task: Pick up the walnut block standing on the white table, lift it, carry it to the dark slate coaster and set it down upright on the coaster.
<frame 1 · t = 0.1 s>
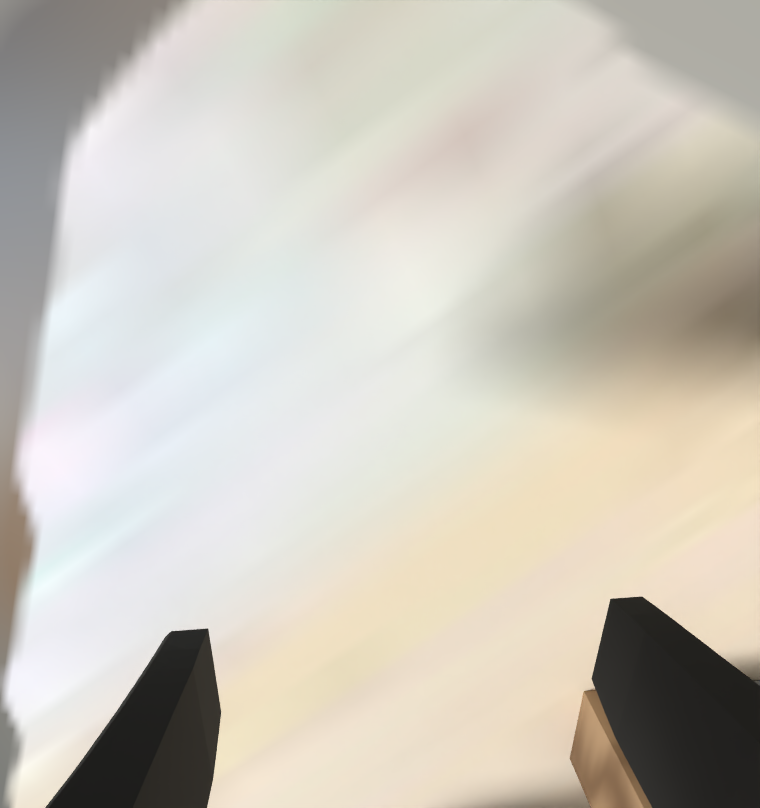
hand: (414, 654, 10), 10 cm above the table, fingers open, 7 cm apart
walnut block: (623, 719, 27), on the table
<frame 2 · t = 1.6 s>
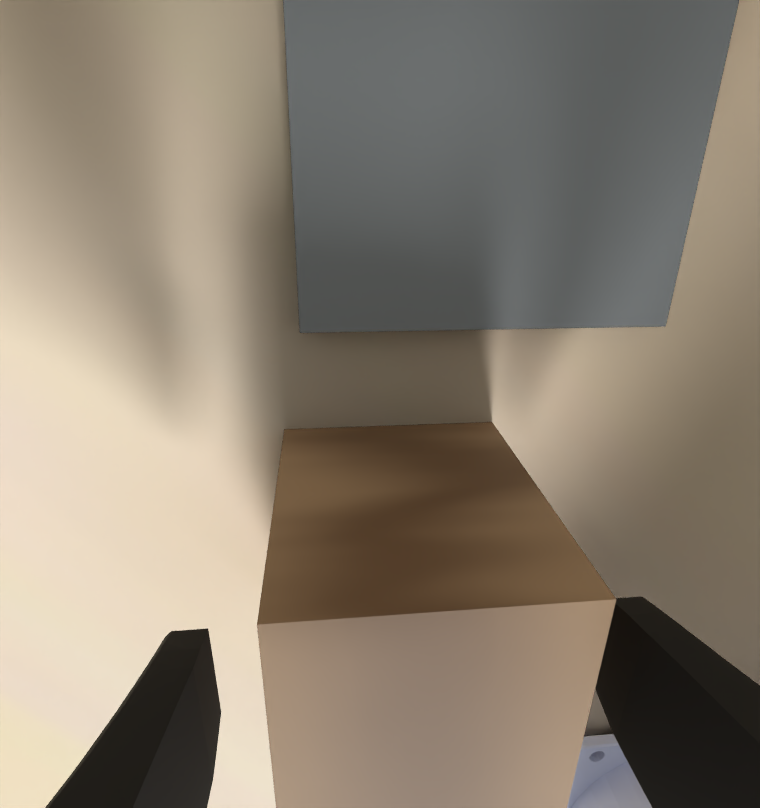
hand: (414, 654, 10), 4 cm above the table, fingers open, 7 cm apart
walnut block: (388, 512, 14), on the table
slate coaster: (498, 120, 10), on the table
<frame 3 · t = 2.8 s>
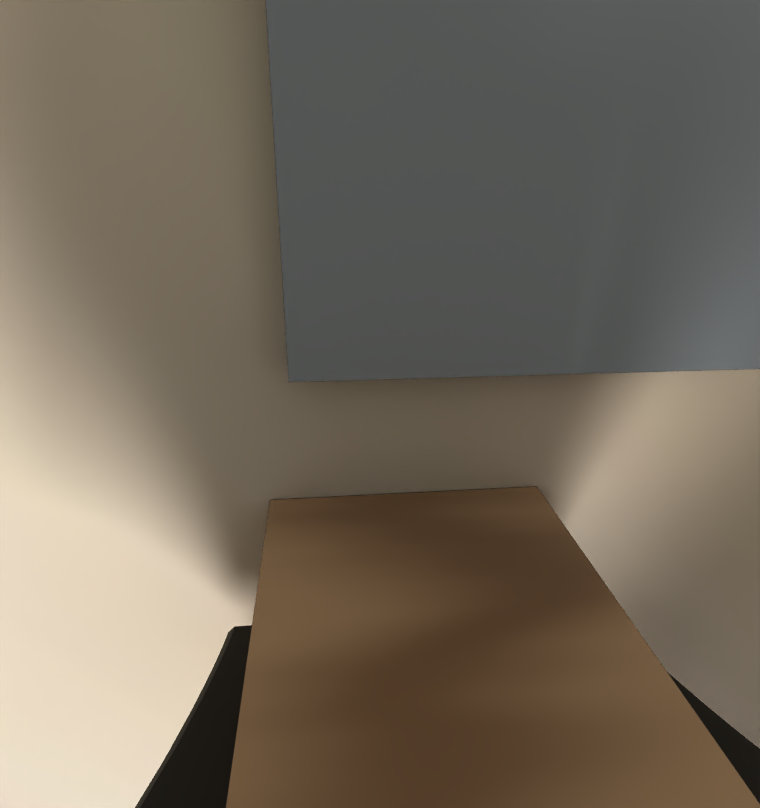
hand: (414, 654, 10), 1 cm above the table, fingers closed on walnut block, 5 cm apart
walnut block: (403, 597, 11), on the table, touching gripper
slate coaster: (562, 93, 8), on the table
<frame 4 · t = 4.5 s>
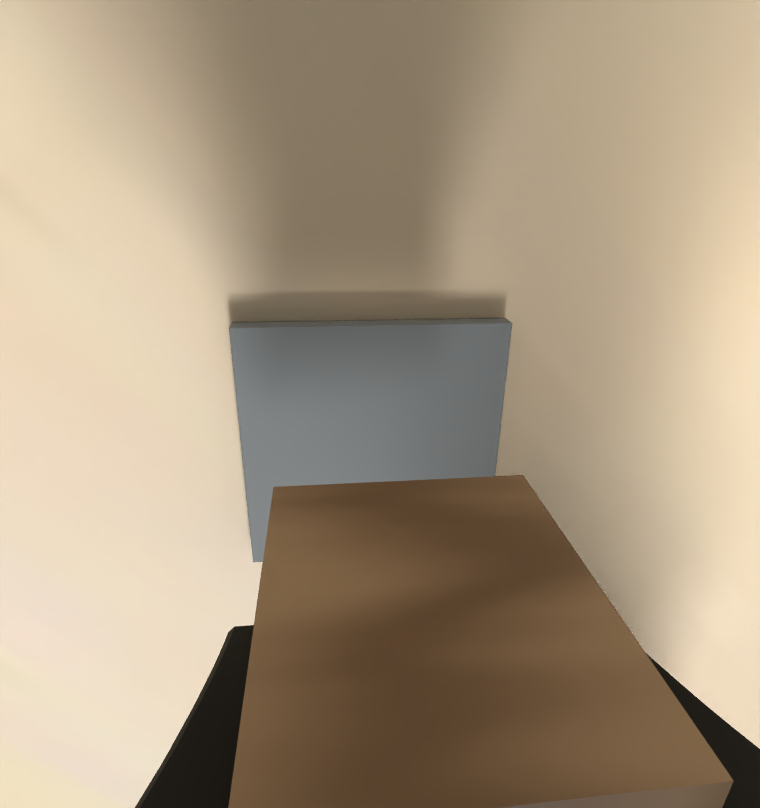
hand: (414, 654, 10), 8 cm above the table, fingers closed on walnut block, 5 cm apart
walnut block: (398, 580, 12), point 6 cm above the table, touching gripper
slate coaster: (371, 442, 17), on the table
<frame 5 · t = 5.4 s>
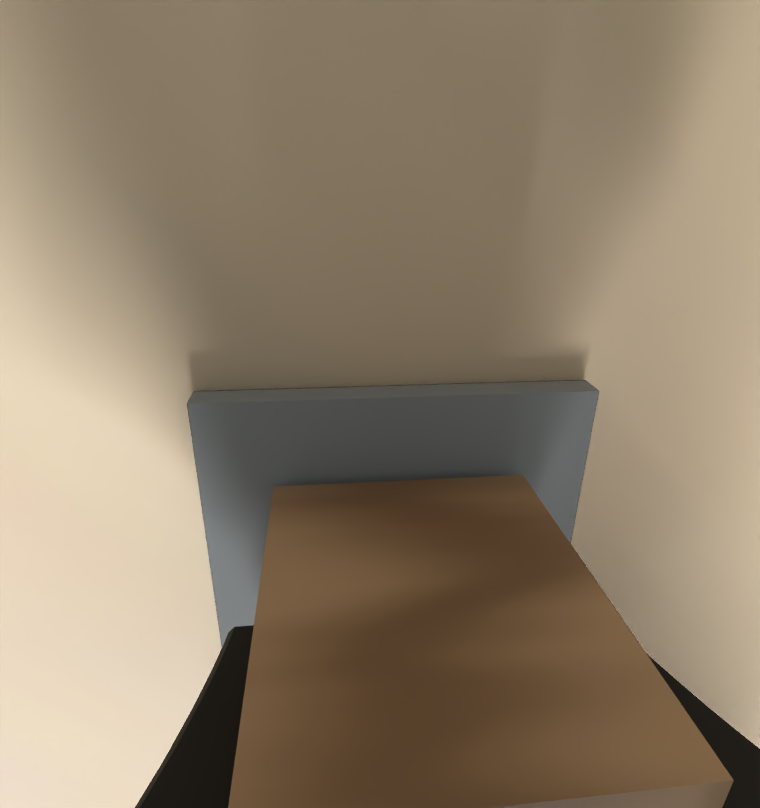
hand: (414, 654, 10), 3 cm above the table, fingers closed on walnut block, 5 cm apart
walnut block: (398, 580, 12), point 1 cm above the table, touching gripper
slate coaster: (392, 546, 12), on the table
when the fingers open (3 cm above the table, at t = 6.3 s): walnut block stays where it is, resting on slate coaster.
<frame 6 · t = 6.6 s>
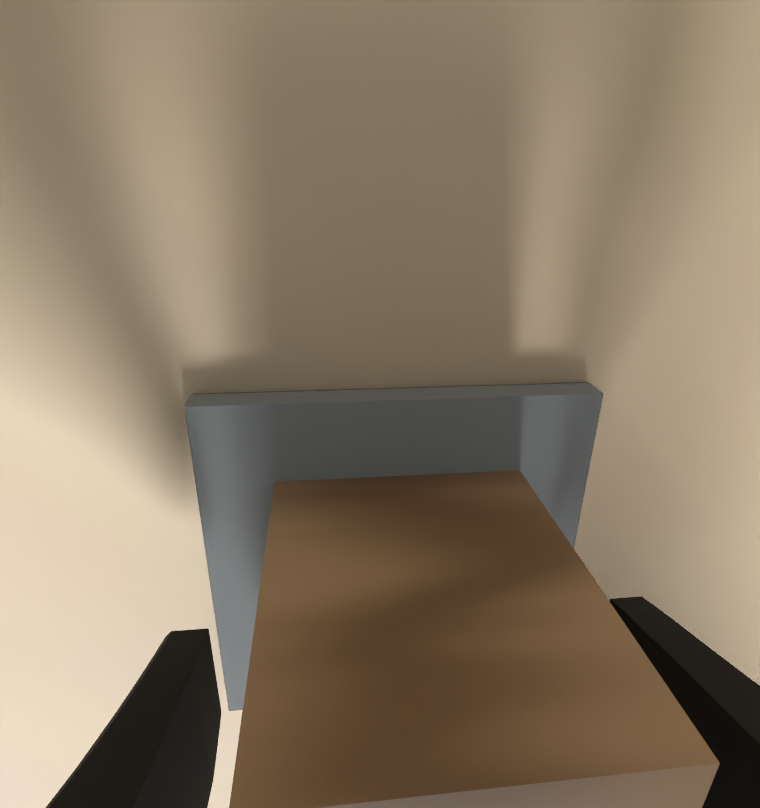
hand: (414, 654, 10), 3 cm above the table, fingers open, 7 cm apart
walnut block: (397, 573, 12), point 1 cm above the table, touching slate coaster
slate coaster: (393, 550, 12), on the table
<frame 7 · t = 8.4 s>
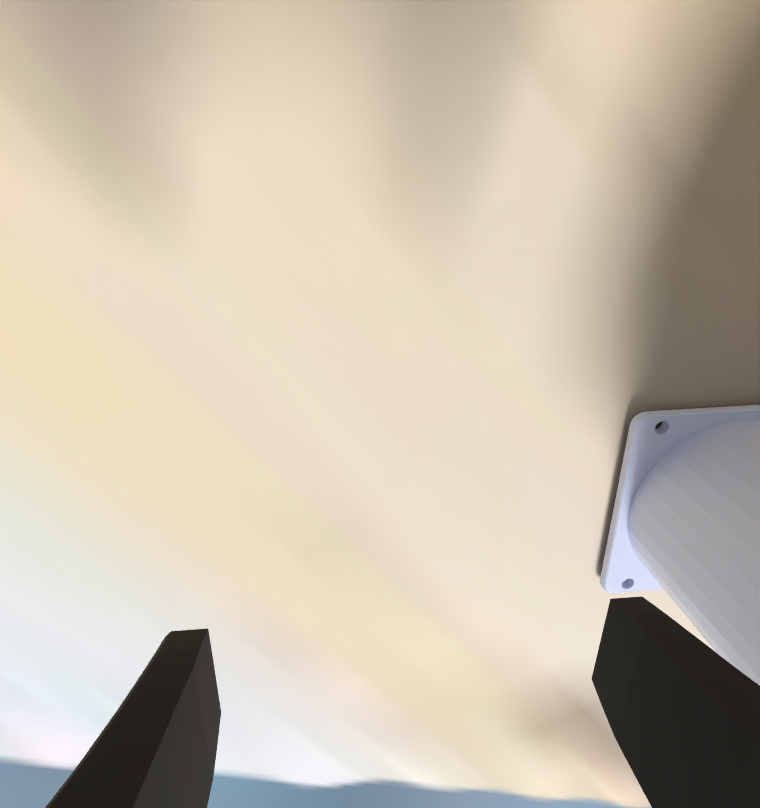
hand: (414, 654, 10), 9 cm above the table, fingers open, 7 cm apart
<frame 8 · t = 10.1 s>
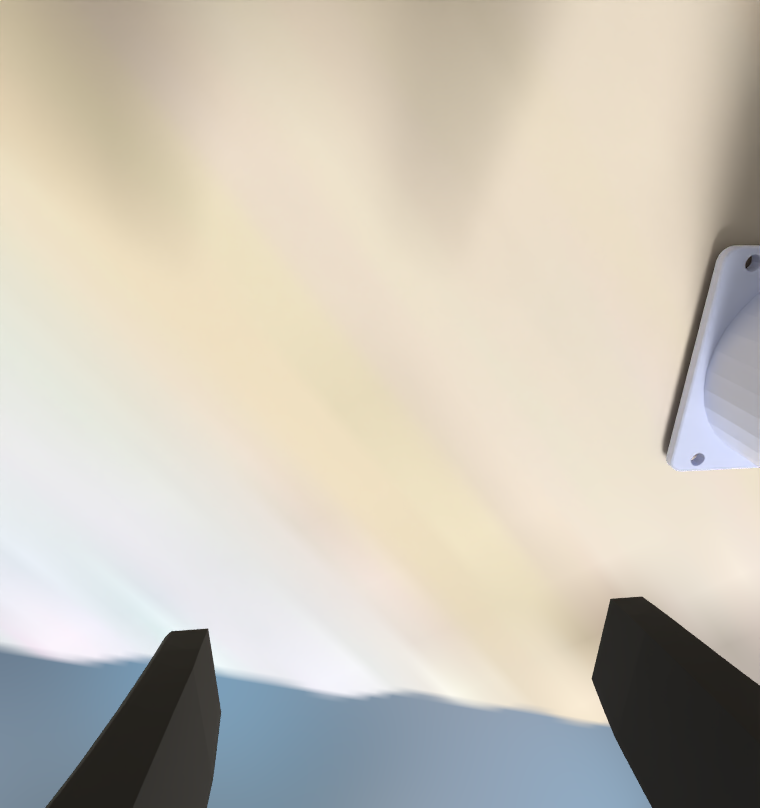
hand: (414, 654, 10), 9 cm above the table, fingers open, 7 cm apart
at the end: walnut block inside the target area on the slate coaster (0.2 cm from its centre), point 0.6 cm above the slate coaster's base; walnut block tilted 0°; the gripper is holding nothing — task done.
